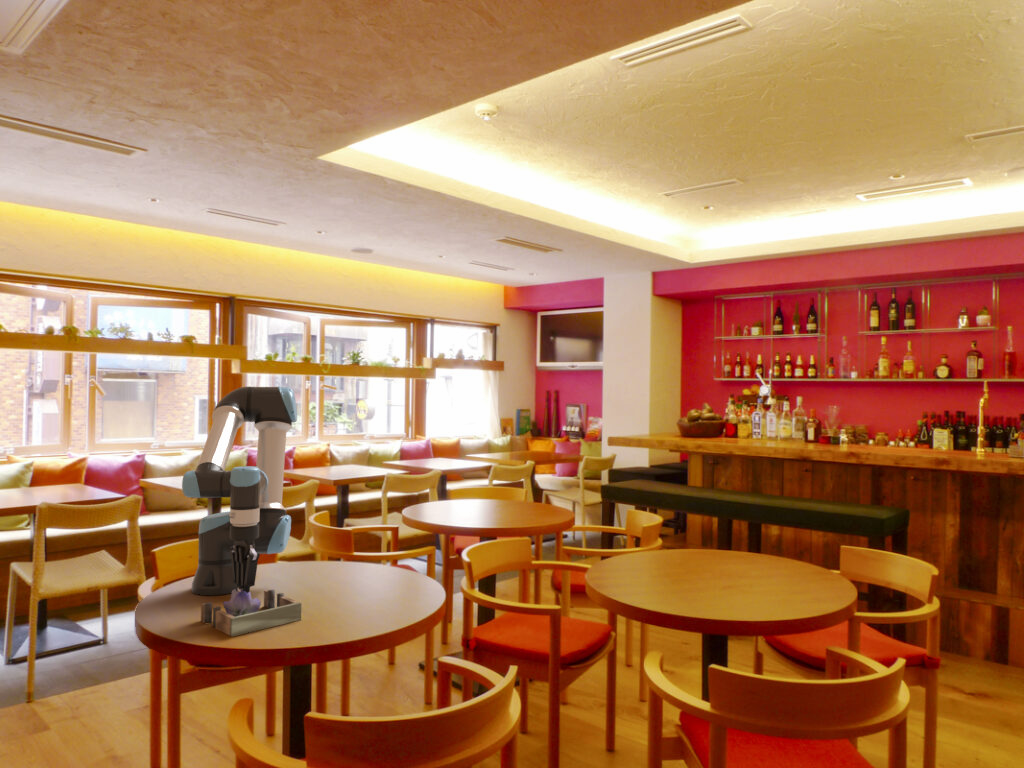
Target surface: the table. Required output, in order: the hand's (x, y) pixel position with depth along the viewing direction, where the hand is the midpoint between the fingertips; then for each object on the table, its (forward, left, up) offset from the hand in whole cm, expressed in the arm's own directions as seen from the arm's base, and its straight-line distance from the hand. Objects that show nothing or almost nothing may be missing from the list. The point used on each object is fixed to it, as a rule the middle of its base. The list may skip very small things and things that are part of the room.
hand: (243, 611), depth 191 cm
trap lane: (+4, 0, -1) cm, 5 cm away
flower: (+4, -2, -2) cm, 5 cm away
